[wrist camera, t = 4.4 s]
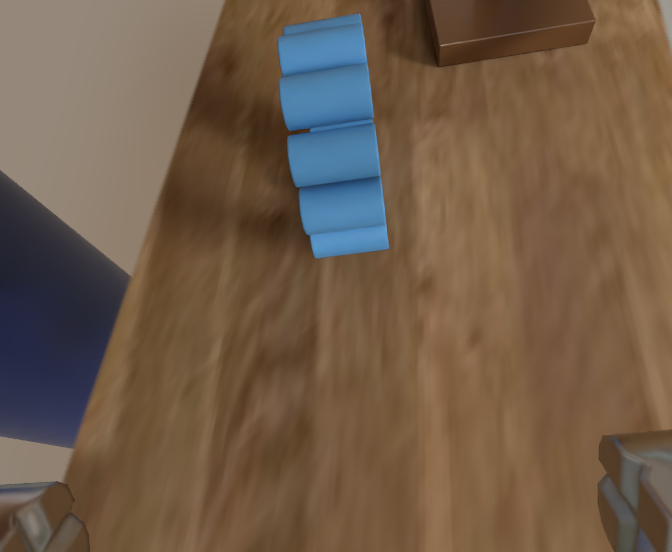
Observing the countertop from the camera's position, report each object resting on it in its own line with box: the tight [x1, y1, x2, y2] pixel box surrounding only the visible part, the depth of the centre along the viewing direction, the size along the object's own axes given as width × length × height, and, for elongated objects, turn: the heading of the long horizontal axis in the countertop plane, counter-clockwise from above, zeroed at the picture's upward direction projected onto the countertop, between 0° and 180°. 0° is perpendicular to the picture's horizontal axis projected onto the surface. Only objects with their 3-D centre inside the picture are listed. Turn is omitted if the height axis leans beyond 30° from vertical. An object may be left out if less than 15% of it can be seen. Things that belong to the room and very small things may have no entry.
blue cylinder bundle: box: [278, 14, 389, 258], centre depth 21 cm, size 9×3×9 cm, turn 4°
